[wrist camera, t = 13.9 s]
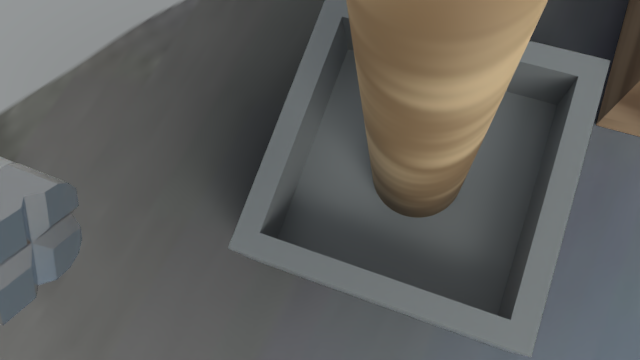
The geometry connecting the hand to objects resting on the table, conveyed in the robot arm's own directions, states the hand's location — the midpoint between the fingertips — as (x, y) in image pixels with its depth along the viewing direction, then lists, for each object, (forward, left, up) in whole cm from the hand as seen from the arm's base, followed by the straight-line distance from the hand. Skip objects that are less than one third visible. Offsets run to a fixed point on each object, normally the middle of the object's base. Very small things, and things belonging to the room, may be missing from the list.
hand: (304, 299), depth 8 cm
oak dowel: (0, -7, -16) cm, 17 cm away
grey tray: (0, -7, -17) cm, 18 cm away
